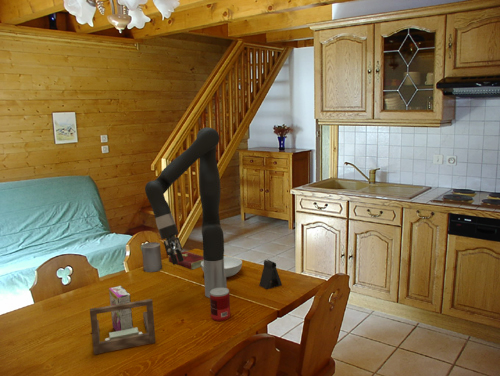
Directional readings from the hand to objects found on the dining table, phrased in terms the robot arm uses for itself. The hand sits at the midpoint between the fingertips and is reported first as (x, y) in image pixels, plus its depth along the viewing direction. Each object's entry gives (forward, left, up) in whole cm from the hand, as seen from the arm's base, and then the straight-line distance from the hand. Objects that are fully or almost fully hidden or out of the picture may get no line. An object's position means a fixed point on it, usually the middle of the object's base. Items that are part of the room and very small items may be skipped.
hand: (178, 262), depth 187 cm
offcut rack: (+25, +17, -20) cm, 36 cm away
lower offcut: (+25, +22, -20) cm, 39 cm away
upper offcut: (+25, +22, -18) cm, 38 cm away
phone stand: (-44, -7, -20) cm, 49 cm away
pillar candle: (+5, -55, -20) cm, 59 cm away
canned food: (-13, +16, -20) cm, 29 cm away
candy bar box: (+25, +13, -20) cm, 35 cm away
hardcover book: (-15, -57, -20) cm, 62 cm away
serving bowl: (-27, -31, -20) cm, 46 cm away
